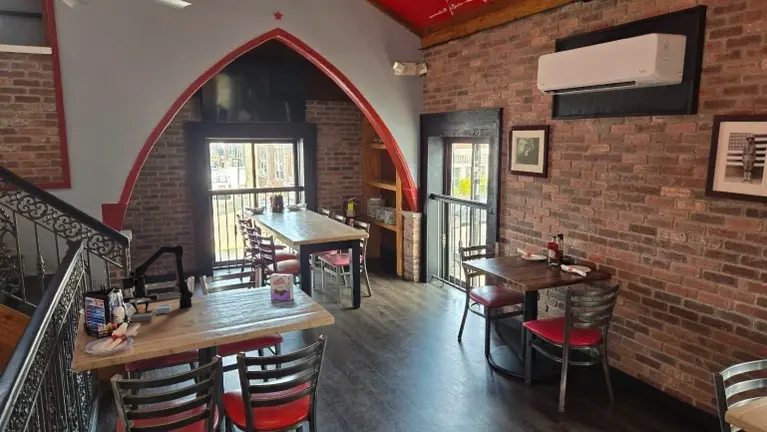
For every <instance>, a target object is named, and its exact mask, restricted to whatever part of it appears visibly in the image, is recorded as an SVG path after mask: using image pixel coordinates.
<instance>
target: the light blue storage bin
mask: <svg viewBox="0 0 767 432" xmlns="http://www.w3.org/2000/svg"><path fill="white" fill-rule="evenodd" d="M170 311H172V304H171V303H170V304H159V305H157V307H156V315H162V314H161V313H167V314H171V312H170Z"/></svg>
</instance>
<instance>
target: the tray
mask: <svg viewBox="0 0 767 432" xmlns="http://www.w3.org/2000/svg"><path fill="white" fill-rule="evenodd" d="M154 314H155V315H156V309H147V312H145V313H143V314H140V313H139V312H138V313H137V312H136V310H135V311H132V313H131V314H130V316H129V317H130V318H131V321H133V322H142V321H150V320H153V318H154V317H153V316H155V315H154Z"/></svg>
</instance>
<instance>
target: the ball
mask: <svg viewBox="0 0 767 432" xmlns="http://www.w3.org/2000/svg"><path fill="white" fill-rule="evenodd" d="M138 312H139V313H140V314H143V313H145V312H146V306H143V305H141V306H139V307H138Z"/></svg>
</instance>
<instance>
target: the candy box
mask: <svg viewBox="0 0 767 432" xmlns="http://www.w3.org/2000/svg"><path fill="white" fill-rule="evenodd" d="M293 276H294V275H293V273H275V272H274V273H272V274H269V282H270V283H269V287H270V300H271V301H285V302H286V301H287V302H291V301H293V300H295V297H294V277H293Z"/></svg>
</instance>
